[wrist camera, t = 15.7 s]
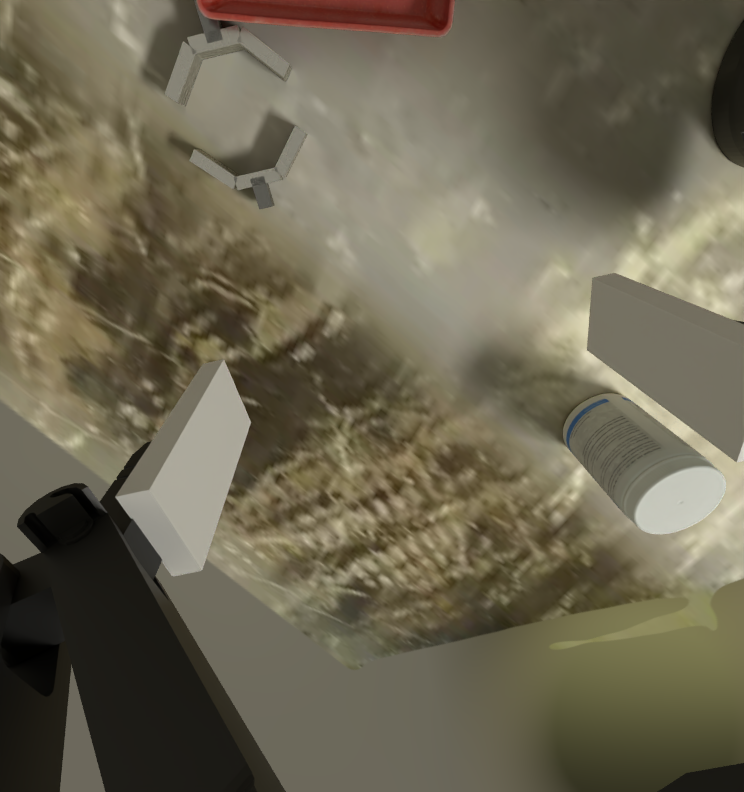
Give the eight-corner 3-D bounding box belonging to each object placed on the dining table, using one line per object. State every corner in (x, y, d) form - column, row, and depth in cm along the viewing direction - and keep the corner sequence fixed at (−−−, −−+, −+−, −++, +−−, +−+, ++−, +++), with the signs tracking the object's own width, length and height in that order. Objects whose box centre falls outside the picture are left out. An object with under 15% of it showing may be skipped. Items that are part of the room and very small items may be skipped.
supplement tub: (555, 455, 55) (621, 542, 43) (564, 395, 51) (641, 474, 38) (625, 445, 56) (712, 529, 43) (640, 384, 51) (743, 459, 38)
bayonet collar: (273, -9, 30) (269, -19, 29) (321, 193, 37) (320, 195, 36) (146, 23, 31) (135, 15, 29) (217, 217, 38) (211, 220, 36)
